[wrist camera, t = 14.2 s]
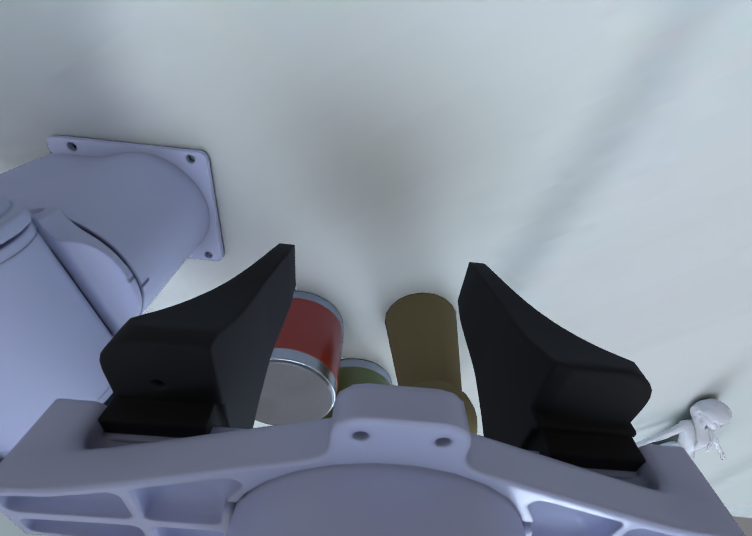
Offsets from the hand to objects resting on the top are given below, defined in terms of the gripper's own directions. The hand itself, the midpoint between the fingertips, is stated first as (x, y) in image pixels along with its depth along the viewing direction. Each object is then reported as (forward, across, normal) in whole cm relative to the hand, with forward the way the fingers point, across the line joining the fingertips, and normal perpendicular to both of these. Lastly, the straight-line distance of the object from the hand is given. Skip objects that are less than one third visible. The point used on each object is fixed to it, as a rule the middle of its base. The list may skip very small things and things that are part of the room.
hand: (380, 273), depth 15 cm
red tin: (+10, +6, +13) cm, 18 cm away
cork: (+11, -5, +12) cm, 17 cm away
